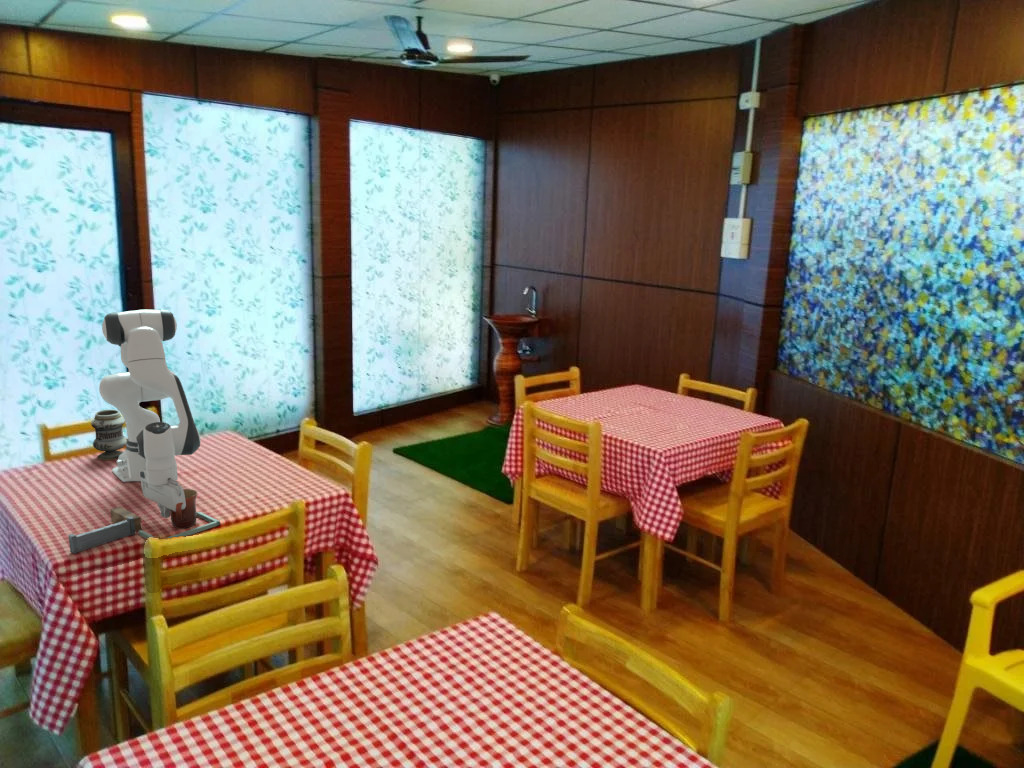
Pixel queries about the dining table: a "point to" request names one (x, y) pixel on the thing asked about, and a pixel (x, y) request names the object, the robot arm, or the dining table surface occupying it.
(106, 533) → the gate
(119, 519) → the wooden blocks
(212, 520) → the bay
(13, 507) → the dining table surface
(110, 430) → the apothecary jar
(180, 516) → the mug
